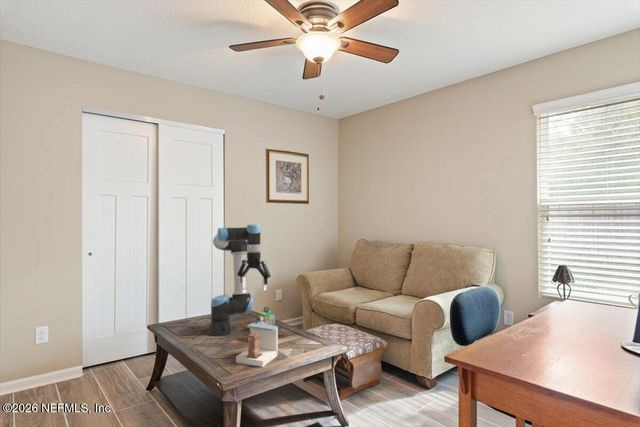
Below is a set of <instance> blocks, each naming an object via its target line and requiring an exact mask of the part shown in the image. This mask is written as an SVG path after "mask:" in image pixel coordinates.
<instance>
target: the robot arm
mask: <svg viewBox="0 0 640 427" xmlns="http://www.w3.org/2000/svg"><path fill="white" fill-rule="evenodd" d="M261 231H262V230H261V225H260V224H256V223H255V224H254V223H253V224H252V223H251V224H247V225H246V226H245V227H219V228H218V229H217V234H216V235H215V236H214V237H213V240H212V244H213V246H214V247H215V248H216V249H217V250H221V251H227V252H228V251H230V255H231V256H233V261H232V262H233V283H234V285H233V286H234V291H233V292H232V296H230V295H229V294H222V295H221V294H220V295H217V296H215V297H213V298H212V299H211V301H210V310H211V311H210V323H209V327H208V335H210V336H212V337H219V336H220V337H221V336H227V335H230V334H231V333H232V332H233V327H232V323H231V320H230V316H233V315H234V316H236V315H237V316H238V315H245V314H250V313H251V312H252V309H253V305H254V299H253V295H252V294H251V292H250V291H249V290H248V272H249V270H251V269H253V270H254V269H255V270H258V272H259V274H260V275H261V276H262V291H263V292H264V291H266V290H267V285H268V279H269V278H271V277H272V276H271V273H270V270H269V269H268V266H267V264H266V260H265V259H264V260H261V259H262V258H261V257H262V256H261V249H262V248H261Z"/></svg>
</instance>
